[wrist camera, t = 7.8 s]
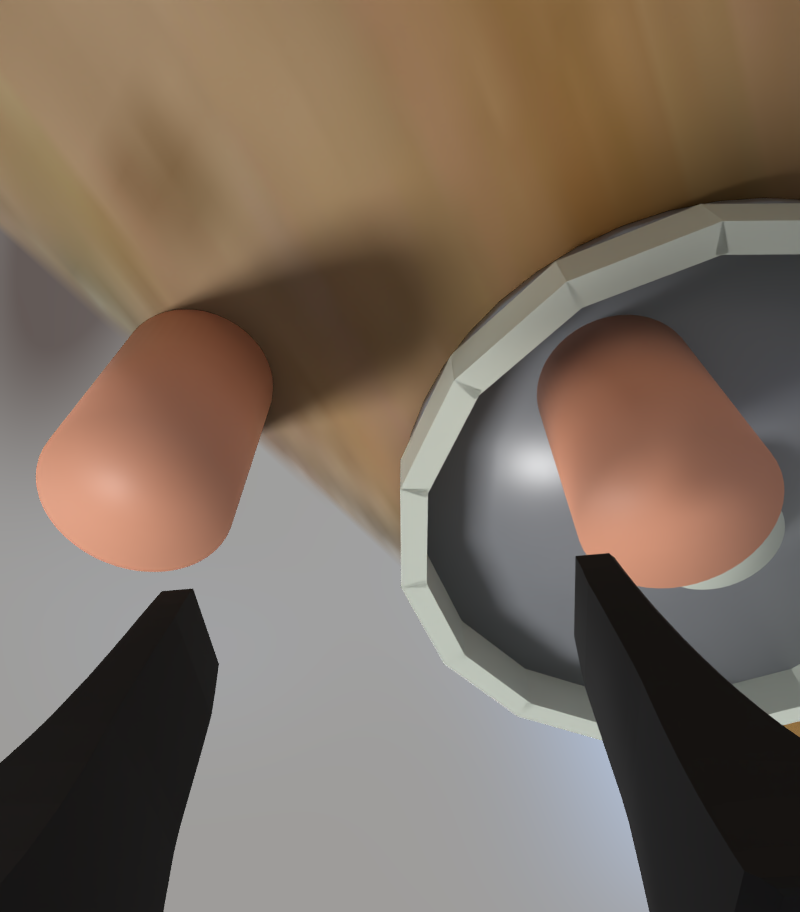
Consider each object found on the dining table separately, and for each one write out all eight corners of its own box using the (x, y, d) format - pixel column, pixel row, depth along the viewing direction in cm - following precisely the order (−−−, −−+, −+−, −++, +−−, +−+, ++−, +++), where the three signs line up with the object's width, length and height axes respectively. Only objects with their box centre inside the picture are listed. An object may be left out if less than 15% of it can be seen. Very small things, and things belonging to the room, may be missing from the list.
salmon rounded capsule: (726, 351, 21) (829, 468, 16) (638, 473, 23) (703, 610, 18) (587, 289, 20) (649, 393, 15) (509, 423, 22) (539, 552, 17)
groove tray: (1161, 351, 22) (1232, 385, 20) (756, 741, 31) (779, 790, 29) (580, 73, 18) (600, 83, 16) (322, 613, 27) (316, 659, 25)
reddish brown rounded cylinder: (292, 342, 22) (257, 451, 17) (249, 463, 24) (207, 592, 19) (137, 285, 21) (50, 383, 16) (108, 416, 23) (24, 539, 18)
